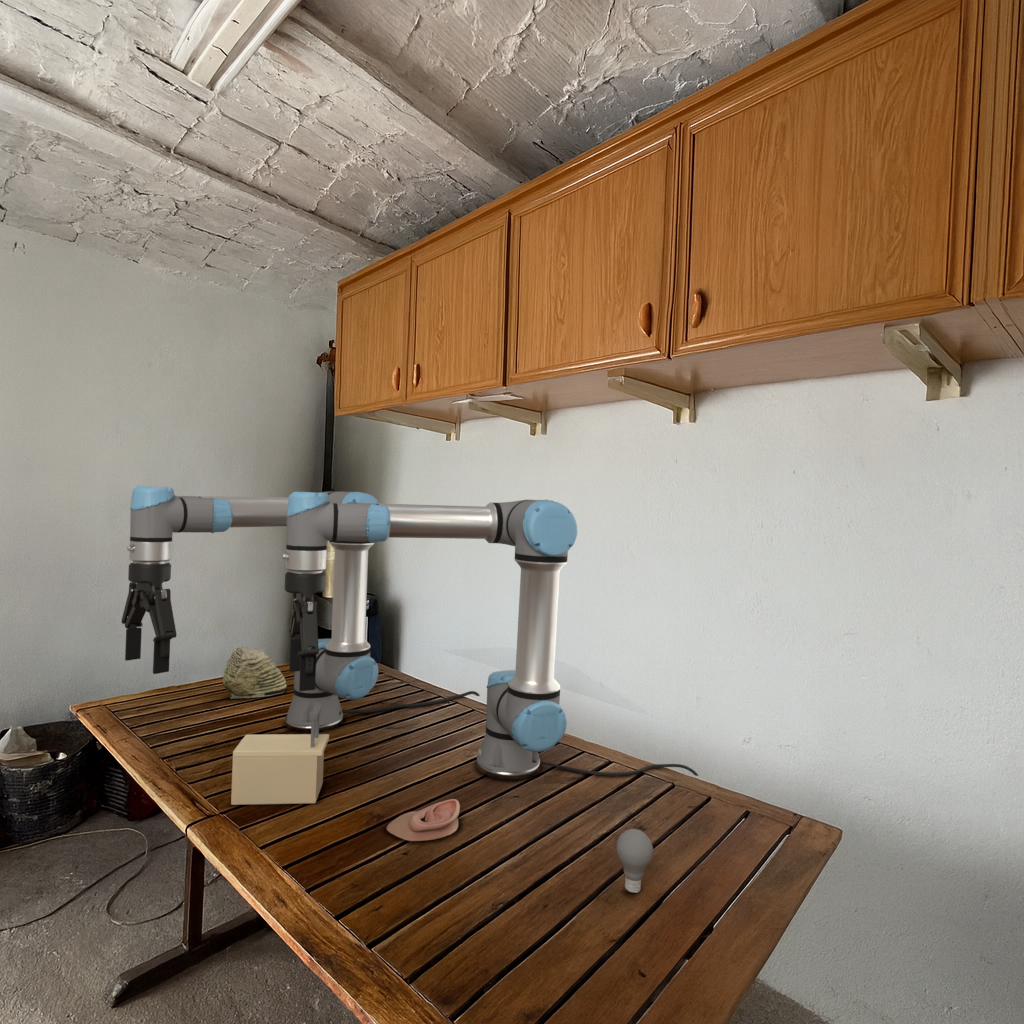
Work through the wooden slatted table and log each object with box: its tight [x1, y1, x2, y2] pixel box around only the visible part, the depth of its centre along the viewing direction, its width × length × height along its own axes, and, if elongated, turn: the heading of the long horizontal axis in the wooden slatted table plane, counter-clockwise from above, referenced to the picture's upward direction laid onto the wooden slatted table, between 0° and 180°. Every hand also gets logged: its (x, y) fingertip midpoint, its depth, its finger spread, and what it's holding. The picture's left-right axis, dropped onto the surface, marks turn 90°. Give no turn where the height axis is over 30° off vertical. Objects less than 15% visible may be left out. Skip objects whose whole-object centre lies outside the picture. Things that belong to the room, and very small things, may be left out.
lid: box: [232, 703, 330, 758], centre depth 134 cm, size 18×9×8 cm, turn 98°
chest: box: [230, 751, 325, 806], centre depth 134 cm, size 17×9×10 cm, turn 98°
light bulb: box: [615, 828, 654, 894], centre depth 106 cm, size 6×6×10 cm
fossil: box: [222, 646, 288, 699], centre depth 198 cm, size 9×18×15 cm, turn 132°
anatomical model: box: [386, 798, 461, 842], centre depth 123 cm, size 13×4×12 cm
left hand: (146, 665), depth 129 cm, fingers open, 13 cm apart
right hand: (301, 680), depth 123 cm, fingers open, 13 cm apart
